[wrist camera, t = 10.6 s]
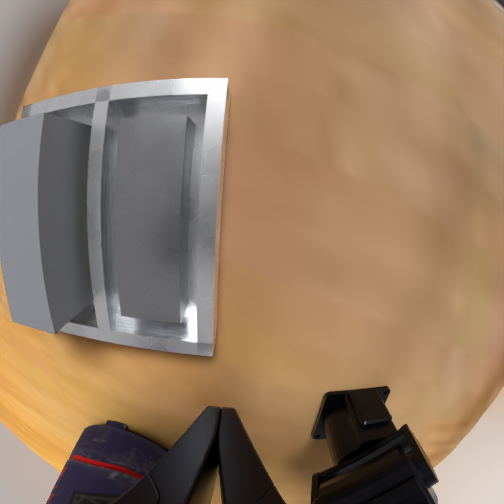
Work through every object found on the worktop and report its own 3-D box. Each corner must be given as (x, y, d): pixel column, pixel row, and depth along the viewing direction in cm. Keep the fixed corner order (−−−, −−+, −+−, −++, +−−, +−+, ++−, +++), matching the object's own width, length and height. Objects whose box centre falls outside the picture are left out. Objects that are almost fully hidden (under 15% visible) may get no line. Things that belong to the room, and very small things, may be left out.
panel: (98, 295, 18) (54, 334, 12) (58, 289, 18) (13, 321, 12) (97, 127, 15) (44, 112, 10) (55, 133, 15) (0, 125, 9)
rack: (216, 334, 20) (211, 361, 16) (50, 309, 19) (27, 326, 16) (230, 94, 16) (227, 74, 12) (45, 112, 15) (18, 105, 12)
